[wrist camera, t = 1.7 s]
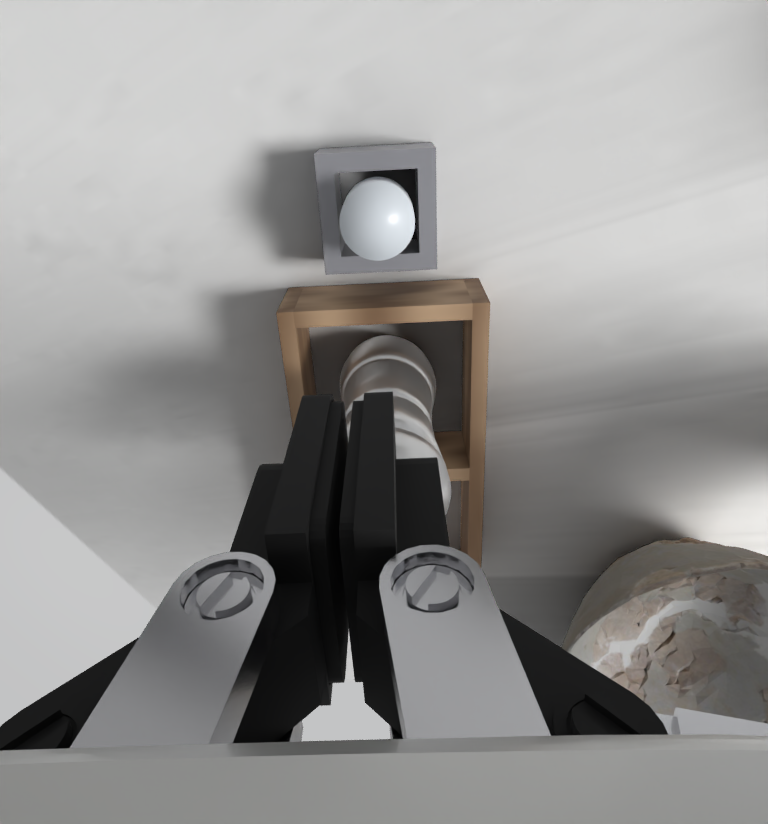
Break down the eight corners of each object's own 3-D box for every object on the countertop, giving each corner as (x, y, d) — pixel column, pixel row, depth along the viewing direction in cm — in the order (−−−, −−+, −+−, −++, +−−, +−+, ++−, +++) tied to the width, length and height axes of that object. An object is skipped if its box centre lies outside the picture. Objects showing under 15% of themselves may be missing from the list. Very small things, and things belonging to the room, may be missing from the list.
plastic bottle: (362, 422, 44) (345, 642, 27) (327, 342, 41) (281, 530, 24) (445, 395, 43) (485, 606, 26) (415, 311, 40) (436, 484, 23)
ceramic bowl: (511, 674, 58) (533, 779, 49) (541, 476, 47) (577, 566, 38) (742, 675, 57) (806, 781, 49) (827, 477, 46) (930, 568, 38)
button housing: (431, 142, 35) (435, 147, 32) (433, 254, 38) (437, 269, 35) (320, 148, 35) (313, 154, 32) (330, 259, 39) (325, 274, 36)
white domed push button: (412, 174, 33) (414, 180, 31) (414, 248, 35) (416, 258, 33) (339, 178, 33) (336, 184, 31) (345, 251, 35) (342, 262, 33)
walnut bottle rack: (478, 278, 39) (489, 302, 35) (472, 558, 51) (480, 602, 46) (288, 287, 39) (276, 312, 35) (324, 563, 51) (318, 608, 46)
